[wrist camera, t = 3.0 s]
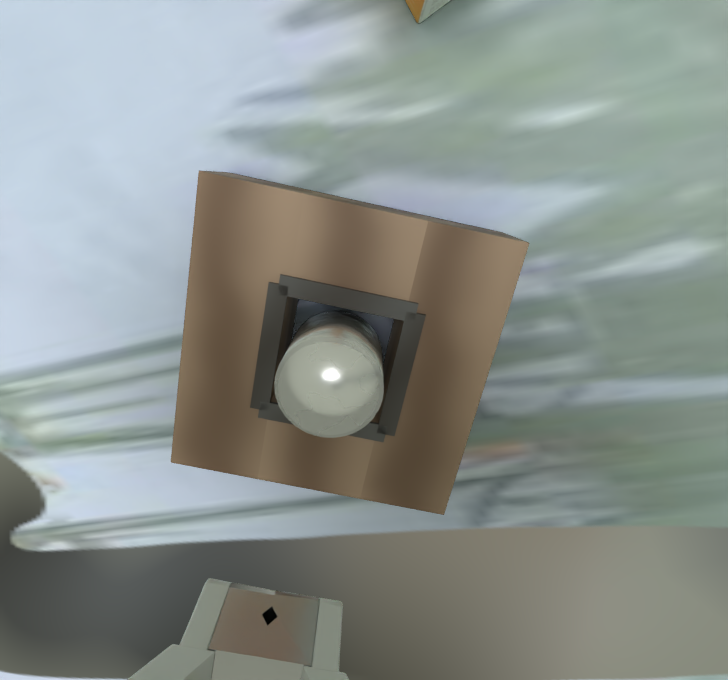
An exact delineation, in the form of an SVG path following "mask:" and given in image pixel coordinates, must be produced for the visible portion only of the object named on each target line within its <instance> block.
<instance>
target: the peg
mask: <svg viewBox="0 0 728 680" xmlns="http://www.w3.org/2000/svg"><path fill="white" fill-rule="evenodd" d="M274 389H275V396H276V400H277V403H278V405H279V407H280V409H281V411H282V412H283V414H284V415H285V417H286V418H287V419H288V420H289V421H290V422H291V423H292V424H293V425H295V426H296V427H298V428H299V429H301V430H302V431H304V432H306V433H309V434H312V435H315V436H319V437H326V438H335V437H342V436H347V435H350V434H353V433H355V432H357V431H359V430H360V429H362V428H363V427H365V426H366V425H367V424H368V423H369V422H370V421H371V420H372V419H373V418H374V417H375V415H376V414H377V412H378V410H379V408H380V406H381V403H382V400H383V394H384V381H383V356H382V347H381V343H380V340H379V338H378V336H377V334H376V332H375V331H374V330H373V328H372V327H371V326H370V325H369V324H368V323H367V322H366V321H364V320H363V319H361V318H360V317H358V316H356V315H354V314H351V313H347V312H342V311H328V312H323V313H320V314H317V315H315V316H313V317H311V318H310V319H308V320H307V321H306V322H305V323H303V324H302V325H301V327H300V328H299V329H298V331H297V332H296V334H295V336H294V338H293V340H292V342H291V343H290V345H289V347H288V349H287V351H286V353H285V355H284V357H283V359H282V361H281V362H280V364H279V366H278V369H277V371H276V376H275V382H274Z"/></svg>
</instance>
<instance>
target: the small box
mask: <svg viewBox="0 0 728 680" xmlns="http://www.w3.org/2000/svg"><path fill="white" fill-rule="evenodd" d="M405 1H406V3H407V5H408V7H409V9H410V10H411V12H412V14H413V16H414V18H415V20H416V22H417V23H421V22H422V21H424V20H425V19H426V18H428V17H429V16H430V15H432V14H433V13H434V12H436V11H437V10H438V9H440V8H441V7H442V6H444V5H445V4H446V3H448V2H449V1H450V0H405Z"/></svg>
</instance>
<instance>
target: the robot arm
mask: <svg viewBox="0 0 728 680" xmlns="http://www.w3.org/2000/svg"><path fill="white" fill-rule="evenodd" d="M342 610H343V605H342V602H341V601H336V600H330V599H323V598H320V599H319V598H318V597H313V596H307V595H300V594H294V593H288V592H282V591H273V590H267V589H262V588H257V587H253V586H248V585H243V584H238V583H231V582H226V581H221V580H216V579H210V578H209V579H208V580H207V582H206V583H205V585H204V587H203V589H202V592H201V594H200V597H199V599H198V602H197V604H196V607H195V609H194V611H193V614H192V616H191V619H190V621H189V623H188V626H187V628H186V631H185V633H184V635H183V638H182V640H181V643H180V645H174V644H173V645H171V646H170V647H168V648H167V649H166V650H165V651H163V652H162V653H161V654H159V655H158V656H157V657H156V658H155V659H153V660H152V661H150V662H149V663H148V664H147V665H145V666H144V667H143V668H141V669H140V670H139V671H138V672H136V673H135V674H134V675H133V676H131V677H130V678H129V679H127V680H349V679H348V677H347V675H346V673H342V672H339V658H340V641H341V625H342Z"/></svg>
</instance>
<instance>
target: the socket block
mask: <svg viewBox="0 0 728 680" xmlns="http://www.w3.org/2000/svg"><path fill="white" fill-rule="evenodd" d="M528 246H529V243H528V242H525V241H523V240H520V239H518V238H515V237H513V236H510V235H508V234H505V233H502V232H498V231H493V230H489V229H484V228H480V227H475V226H470V225H466V224H461V223H457V222H452V221H448V220H443V219H439V218H434V217H429V216H425V215H420V214H416V213H411V212H407V211H402V210H398V209H393V208H388V207H384V206H379V205H375V204H370V203H366V202H361V201H357V200H352V199H347V198H343V197H338V196H334V195H329V194H325V193H320V192H316V191H311V190H307V189H302V188H297V187H293V186H288V185H284V184H279V183H275V182H270V181H266V180H261V179H256V178H252V177H247V176H243V175H238V174H234V173H228V172H212V171H199V175H198V185H197V196H196V206H195V216H194V227H193V237H192V248H191V258H190V268H189V279H188V289H187V299H186V310H185V320H184V330H183V341H182V351H181V361H180V372H179V382H178V393H177V403H176V413H175V424H174V434H173V444H172V455H171V462H172V463H177V464H182V465H187V466H193V467H198V468H203V469H208V470H213V471H219V472H224V473H229V474H234V475H239V476H245V477H250V478H255V479H260V480H265V481H271V482H276V483H281V484H286V485H291V486H297V487H302V488H307V489H312V490H317V491H323V492H328V493H333V494H338V495H343V496H349V497H354V498H359V499H364V500H369V501H375V502H380V503H385V504H390V505H395V506H401V507H406V508H411V509H416V510H421V511H427V512H432V513H437V514H442V515H444V513H445V510H446V507H447V503H448V500H449V497H450V494H451V491H452V487H453V484H454V481H455V478H456V475H457V472H458V468H459V465H460V462H461V459H462V456H463V453H464V449H465V446H466V443H467V440H468V437H469V433H470V430H471V427H472V424H473V421H474V418H475V414H476V411H477V408H478V405H479V402H480V398H481V395H482V392H483V389H484V386H485V383H486V379H487V376H488V373H489V370H490V367H491V364H492V360H493V357H494V354H495V351H496V348H497V344H498V341H499V338H500V335H501V332H502V329H503V325H504V322H505V319H506V316H507V313H508V310H509V306H510V303H511V300H512V297H513V294H514V290H515V287H516V284H517V281H518V278H519V275H520V271H521V268H522V265H523V262H524V259H525V255H526V252H527V249H528ZM298 299H302V300H307V301H312V302H317V303H321V304H326V305H331V306H336V307H341V308H345V309H350V310H355V311H360V312H364V313H369V314H374V315H379V316H384V317H388V318H393V319H394V322H393V326H392V330H391V334H390V339H389V343H388V347H387V351H386V355H385V359H384V364H383V381H384V394H383V400H382V403H381V406H380V408H379V410H378V412H377V414H376V415H375V417H374V418H373V419H372V420H371V421H370V422H369V423H368V424H367V425H366V426H365V427H363V428H362V429H360V430H359V431H357V432H355V433H353V434H350V435H347V436H342V437H335V438H326V437H319V436H315V435H312V434H309V433H306V432H304V431H302V430H301V429H299V428H298V427H296V426H295V425H293V424H292V423H291V422H290V421H289V420H288V419H287V418H286V417H285V415H284V414H283V412H282V411H281V409H280V407H279V405H278V403H277V400H276V396H275V389H274V382H275V376H276V371H277V369H278V366H279V364H280V362H281V361H282V359H283V357H284V355H285V353H286V351H287V349H288V347H289V345H290V343H291V338H292V332H293V327H294V321H295V315H296V309H297V303H298Z"/></svg>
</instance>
